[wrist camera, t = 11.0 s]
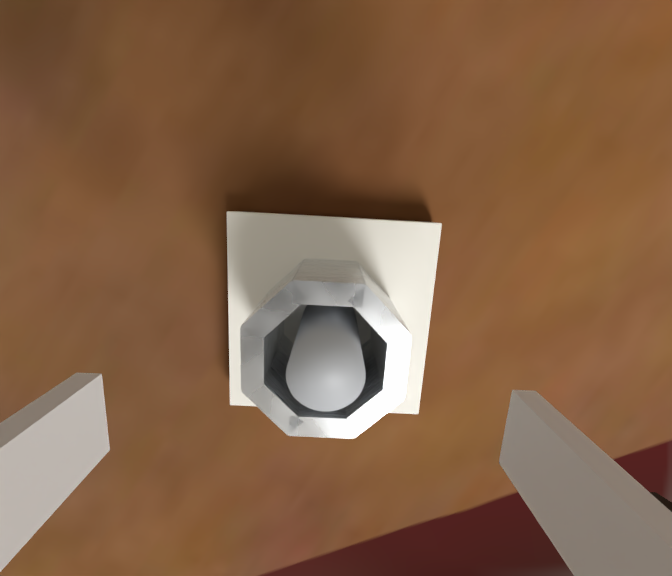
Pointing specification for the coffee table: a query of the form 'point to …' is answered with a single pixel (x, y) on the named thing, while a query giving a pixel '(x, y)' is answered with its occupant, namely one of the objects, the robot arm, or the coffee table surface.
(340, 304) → the tube
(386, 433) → the coffee table surface
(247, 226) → the post
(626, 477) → the robot arm
